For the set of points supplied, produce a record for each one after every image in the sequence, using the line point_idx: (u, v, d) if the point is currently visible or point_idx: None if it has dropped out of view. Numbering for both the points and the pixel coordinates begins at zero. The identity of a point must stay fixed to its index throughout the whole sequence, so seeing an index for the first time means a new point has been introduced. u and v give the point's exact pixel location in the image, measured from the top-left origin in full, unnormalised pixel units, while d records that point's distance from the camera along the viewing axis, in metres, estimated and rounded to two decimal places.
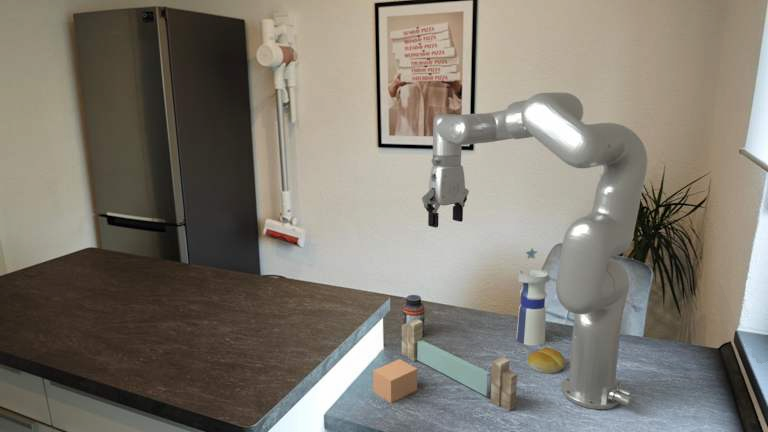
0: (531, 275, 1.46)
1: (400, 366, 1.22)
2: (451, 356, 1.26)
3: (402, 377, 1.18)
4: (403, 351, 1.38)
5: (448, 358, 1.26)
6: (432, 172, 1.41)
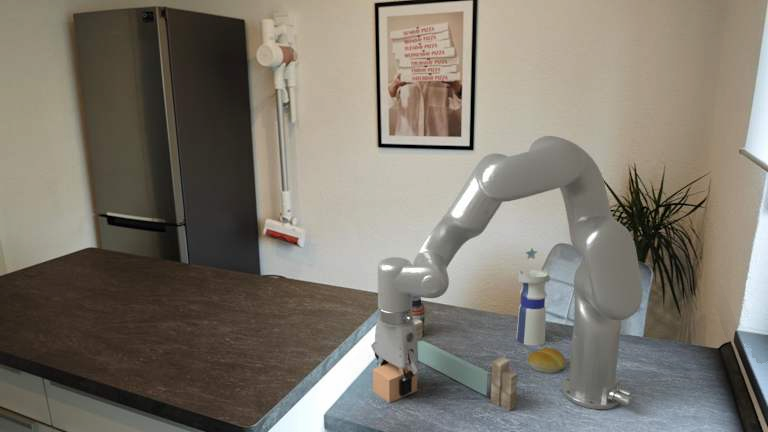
0: (531, 275, 1.46)
1: None
2: (451, 356, 1.26)
3: None
4: None
5: (448, 358, 1.26)
6: (406, 332, 1.15)
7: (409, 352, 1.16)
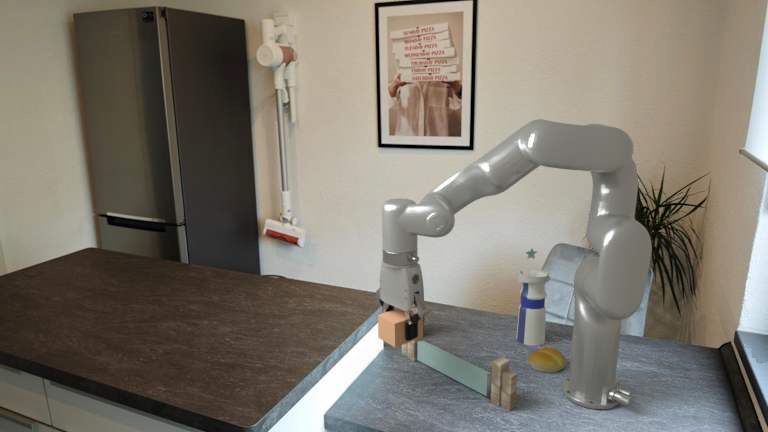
0: (531, 275, 1.46)
1: None
2: (451, 356, 1.26)
3: None
4: (403, 351, 1.38)
5: (448, 358, 1.26)
6: (411, 274, 1.12)
7: (415, 294, 1.13)
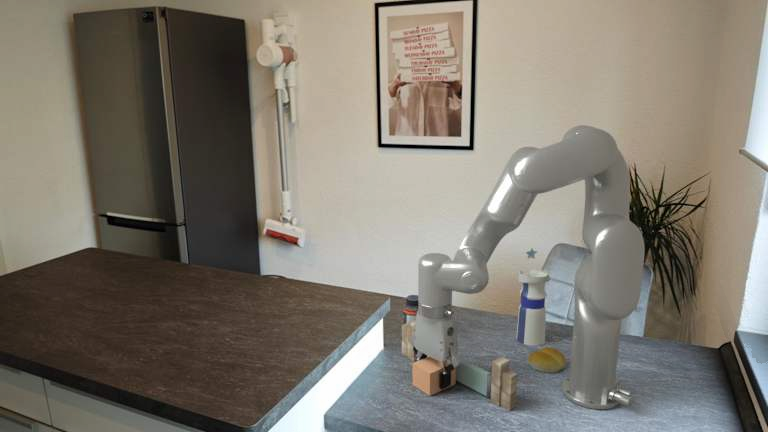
0: (531, 275, 1.46)
1: None
2: None
3: None
4: (403, 351, 1.38)
5: None
6: (446, 327, 1.17)
7: (449, 346, 1.18)
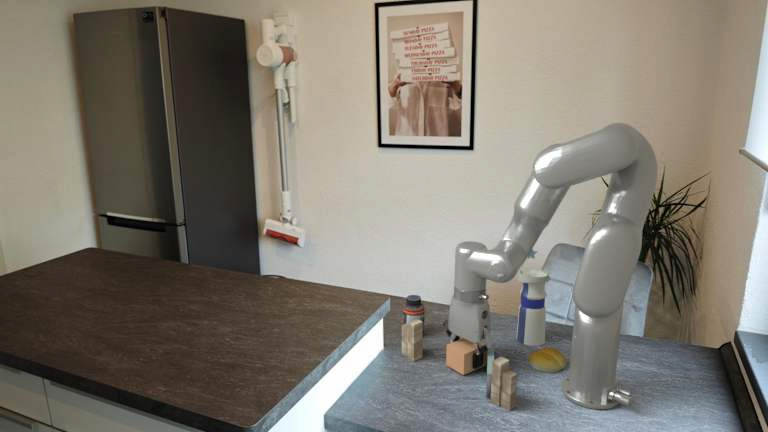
0: (531, 275, 1.46)
1: (471, 342, 1.32)
2: (490, 350, 1.29)
3: (474, 351, 1.28)
4: (403, 351, 1.38)
5: (487, 351, 1.30)
6: (481, 310, 1.25)
7: (483, 328, 1.26)
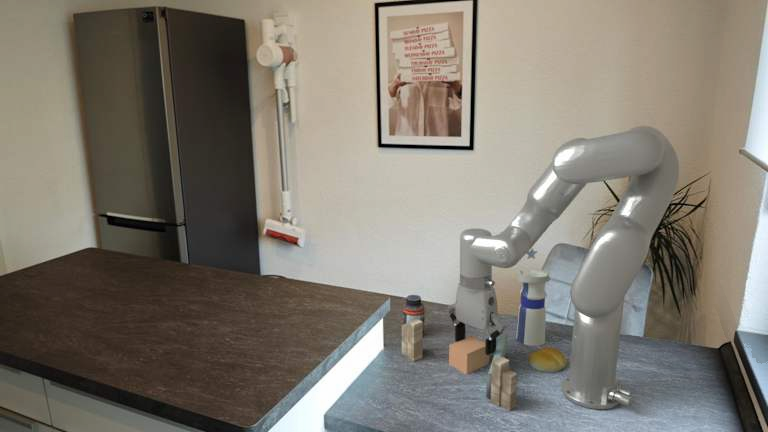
0: (531, 275, 1.46)
1: (474, 342, 1.34)
2: (498, 351, 1.29)
3: (476, 351, 1.30)
4: (403, 351, 1.38)
5: (495, 352, 1.29)
6: (488, 296, 1.25)
7: None
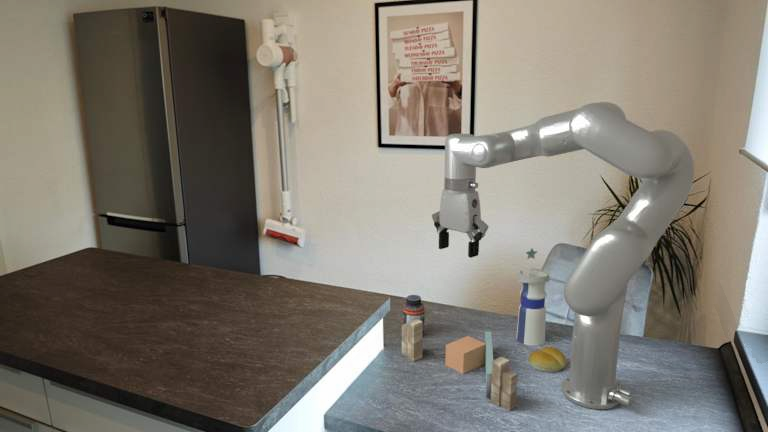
0: (531, 275, 1.46)
1: (470, 342, 1.34)
2: (489, 350, 1.29)
3: (473, 351, 1.30)
4: (403, 351, 1.38)
5: (486, 351, 1.30)
6: (471, 198, 1.27)
7: None
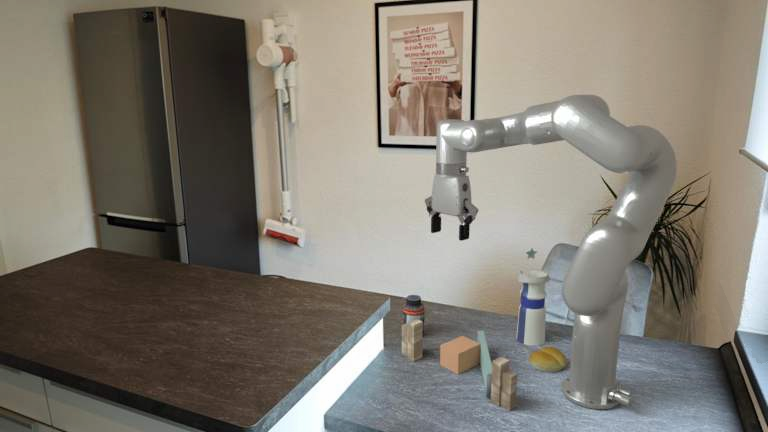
0: (531, 275, 1.46)
1: (465, 342, 1.34)
2: (484, 350, 1.29)
3: (468, 351, 1.30)
4: (403, 351, 1.38)
5: (481, 351, 1.30)
6: (462, 182, 1.30)
7: None
